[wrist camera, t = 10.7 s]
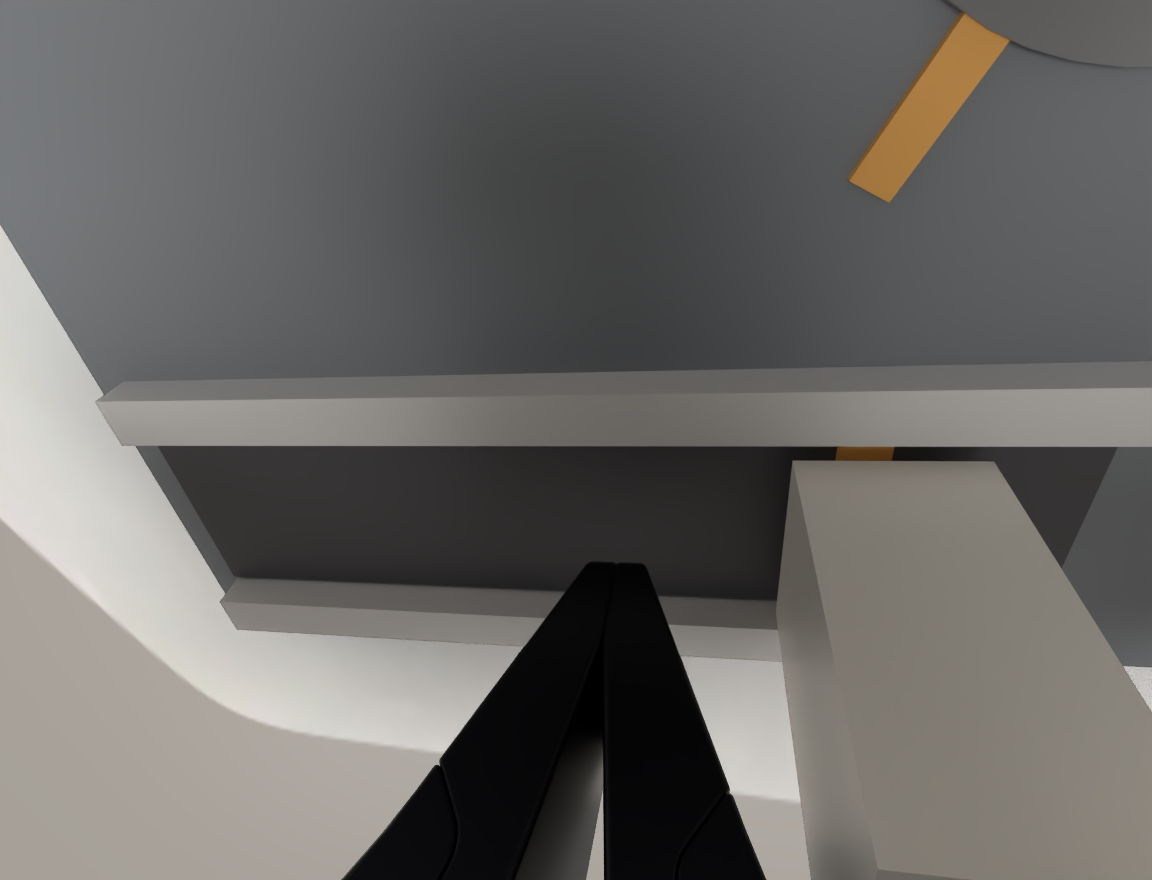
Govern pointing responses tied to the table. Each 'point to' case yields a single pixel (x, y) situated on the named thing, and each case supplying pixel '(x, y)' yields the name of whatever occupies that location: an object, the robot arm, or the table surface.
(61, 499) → the table surface
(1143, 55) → the console board
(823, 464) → the fader tab
